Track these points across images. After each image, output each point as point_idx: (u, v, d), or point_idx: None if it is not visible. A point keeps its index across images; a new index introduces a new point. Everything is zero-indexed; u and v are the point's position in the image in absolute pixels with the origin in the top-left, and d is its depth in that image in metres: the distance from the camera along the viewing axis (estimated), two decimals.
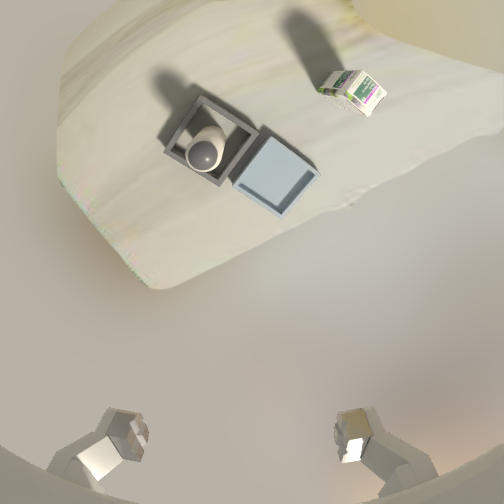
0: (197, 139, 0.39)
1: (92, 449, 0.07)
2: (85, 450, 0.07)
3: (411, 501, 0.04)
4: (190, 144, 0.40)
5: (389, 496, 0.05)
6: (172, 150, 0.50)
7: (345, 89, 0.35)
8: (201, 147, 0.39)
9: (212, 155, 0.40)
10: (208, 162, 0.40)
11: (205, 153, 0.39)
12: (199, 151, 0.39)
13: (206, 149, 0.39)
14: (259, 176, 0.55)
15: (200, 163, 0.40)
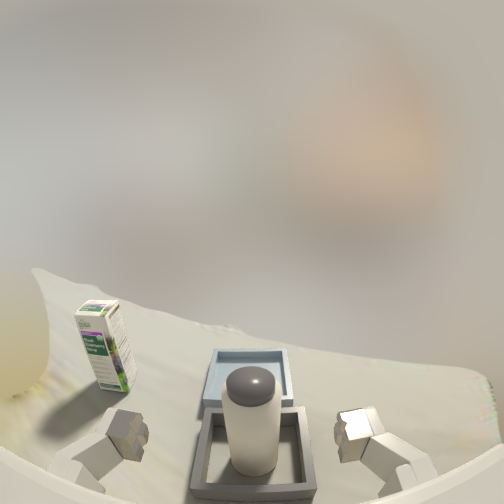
0: (232, 406, 0.22)
1: (92, 449, 0.07)
2: (85, 450, 0.07)
3: (411, 501, 0.04)
4: (247, 410, 0.21)
5: (389, 496, 0.05)
6: None
7: (98, 319, 0.34)
8: (237, 387, 0.23)
9: (240, 373, 0.24)
10: (254, 372, 0.25)
11: (243, 380, 0.23)
12: (245, 387, 0.23)
13: (236, 382, 0.23)
14: None
15: (262, 378, 0.24)
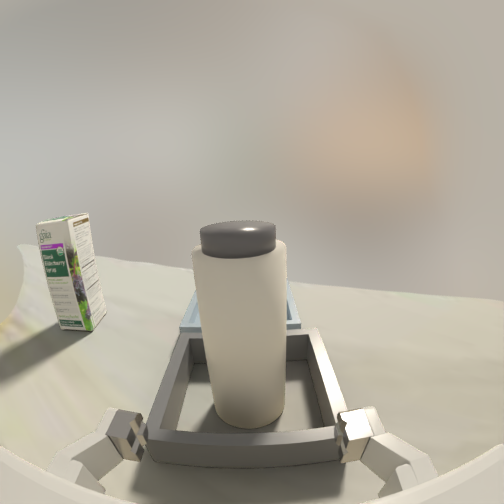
0: (208, 258, 0.15)
1: (92, 449, 0.07)
2: (85, 450, 0.07)
3: (411, 501, 0.04)
4: (230, 261, 0.14)
5: (389, 496, 0.05)
6: None
7: (60, 225, 0.27)
8: (217, 231, 0.16)
9: (223, 224, 0.18)
10: (243, 223, 0.18)
11: (226, 227, 0.17)
12: (229, 230, 0.16)
13: (216, 228, 0.16)
14: None
15: (256, 225, 0.17)
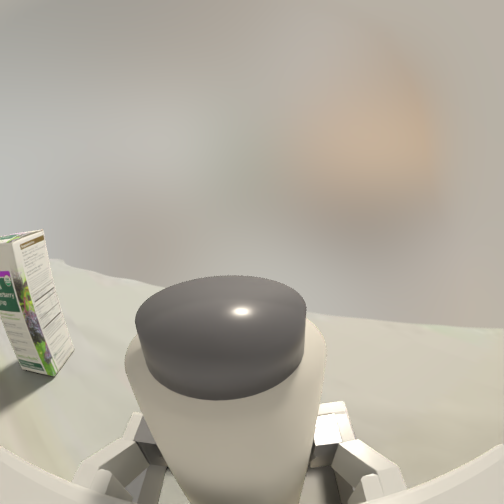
0: (149, 392, 0.06)
1: (120, 456, 0.07)
2: (113, 458, 0.07)
3: (411, 501, 0.04)
4: (199, 412, 0.05)
5: (389, 496, 0.05)
6: None
7: (4, 248, 0.18)
8: (169, 323, 0.06)
9: (191, 289, 0.08)
10: (233, 287, 0.08)
11: (195, 305, 0.07)
12: (198, 322, 0.06)
13: (172, 308, 0.07)
14: None
15: (261, 299, 0.07)
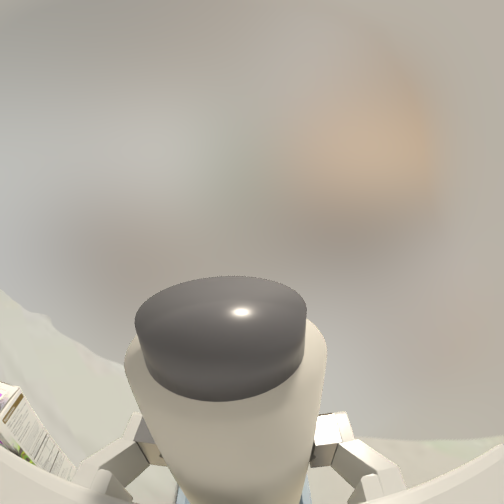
0: (149, 393, 0.05)
1: (120, 456, 0.07)
2: (113, 458, 0.07)
3: (411, 501, 0.04)
4: (199, 413, 0.05)
5: (389, 496, 0.05)
6: None
7: None
8: (169, 324, 0.06)
9: (191, 289, 0.08)
10: (233, 287, 0.08)
11: (195, 306, 0.07)
12: (198, 323, 0.06)
13: (171, 309, 0.07)
14: None
15: (261, 300, 0.07)
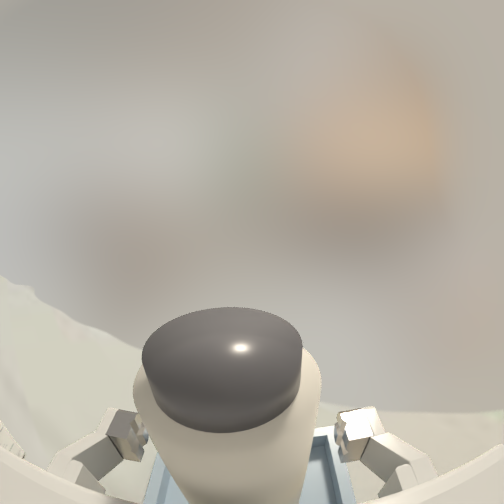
0: (158, 425, 0.06)
1: (92, 449, 0.07)
2: (85, 450, 0.07)
3: (411, 501, 0.04)
4: (204, 444, 0.05)
5: (389, 496, 0.05)
6: None
7: None
8: (174, 363, 0.07)
9: (194, 323, 0.09)
10: (234, 321, 0.09)
11: (198, 342, 0.08)
12: (201, 362, 0.07)
13: (176, 346, 0.07)
14: None
15: (260, 336, 0.08)
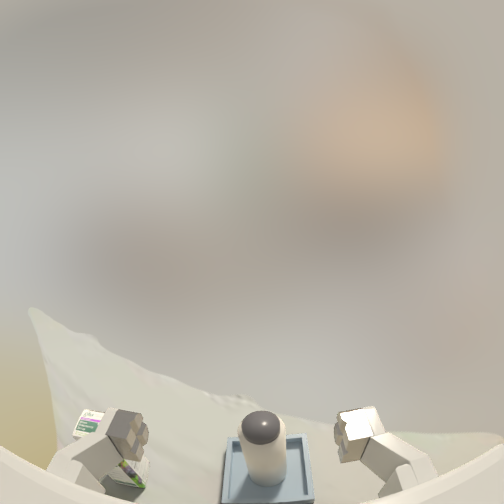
0: (247, 444, 0.26)
1: (92, 449, 0.07)
2: (85, 450, 0.07)
3: (411, 501, 0.04)
4: (258, 447, 0.26)
5: (389, 496, 0.05)
6: None
7: None
8: (250, 431, 0.27)
9: (252, 417, 0.29)
10: (263, 416, 0.29)
11: (255, 424, 0.28)
12: (256, 430, 0.27)
13: (249, 426, 0.28)
14: (280, 486, 0.30)
15: (270, 422, 0.28)
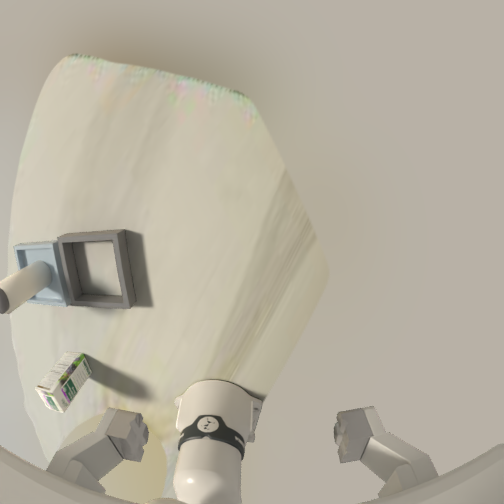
0: (10, 308, 0.33)
1: (92, 449, 0.07)
2: (85, 450, 0.07)
3: (411, 501, 0.04)
4: (10, 301, 0.33)
5: (389, 496, 0.05)
6: None
7: (56, 395, 0.38)
8: (2, 308, 0.32)
9: None
10: None
11: None
12: (0, 304, 0.31)
13: (0, 308, 0.32)
14: (49, 264, 0.44)
15: None
